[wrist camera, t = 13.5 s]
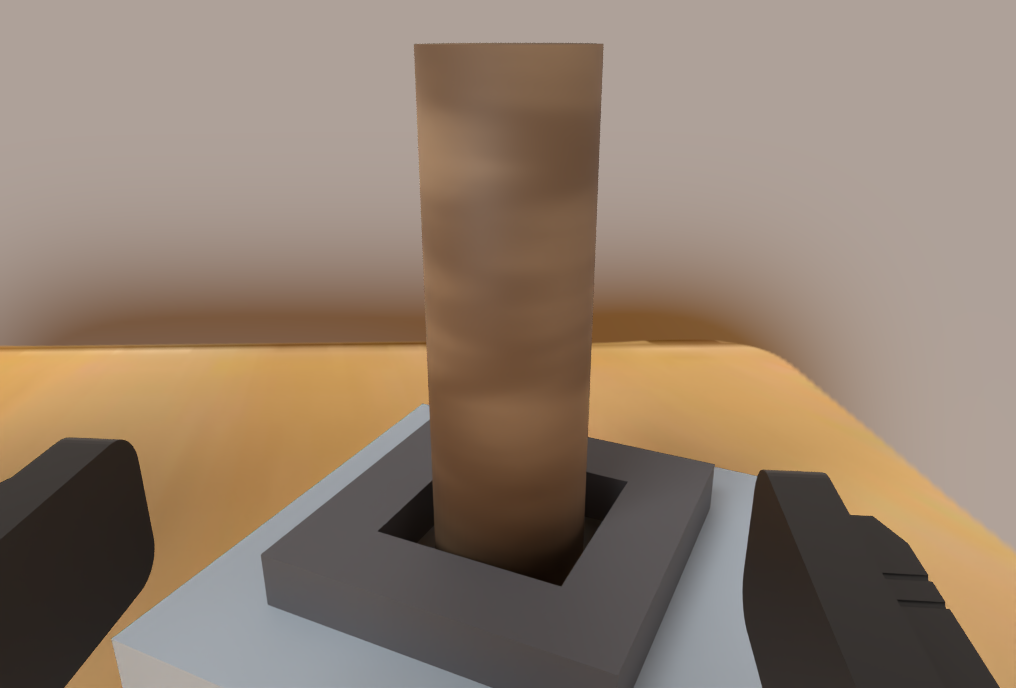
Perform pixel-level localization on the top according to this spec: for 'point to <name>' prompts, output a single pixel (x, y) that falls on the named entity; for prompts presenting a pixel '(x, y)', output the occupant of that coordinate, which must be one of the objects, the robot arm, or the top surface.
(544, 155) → the peg
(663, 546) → the socket
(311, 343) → the top surface
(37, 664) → the robot arm
